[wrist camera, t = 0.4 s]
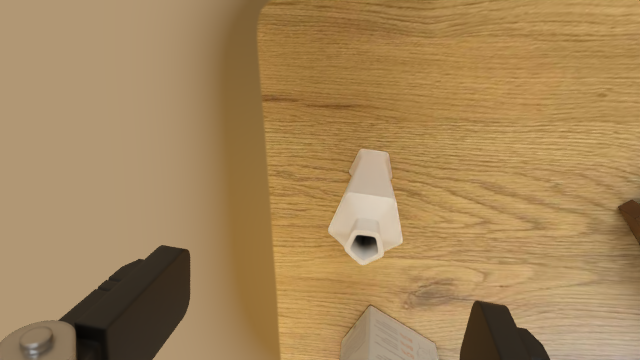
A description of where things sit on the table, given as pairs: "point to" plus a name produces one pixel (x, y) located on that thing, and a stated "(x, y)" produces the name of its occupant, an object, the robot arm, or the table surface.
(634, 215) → the shelf
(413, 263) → the table surface
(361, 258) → the cream faceted vase
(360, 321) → the small box
